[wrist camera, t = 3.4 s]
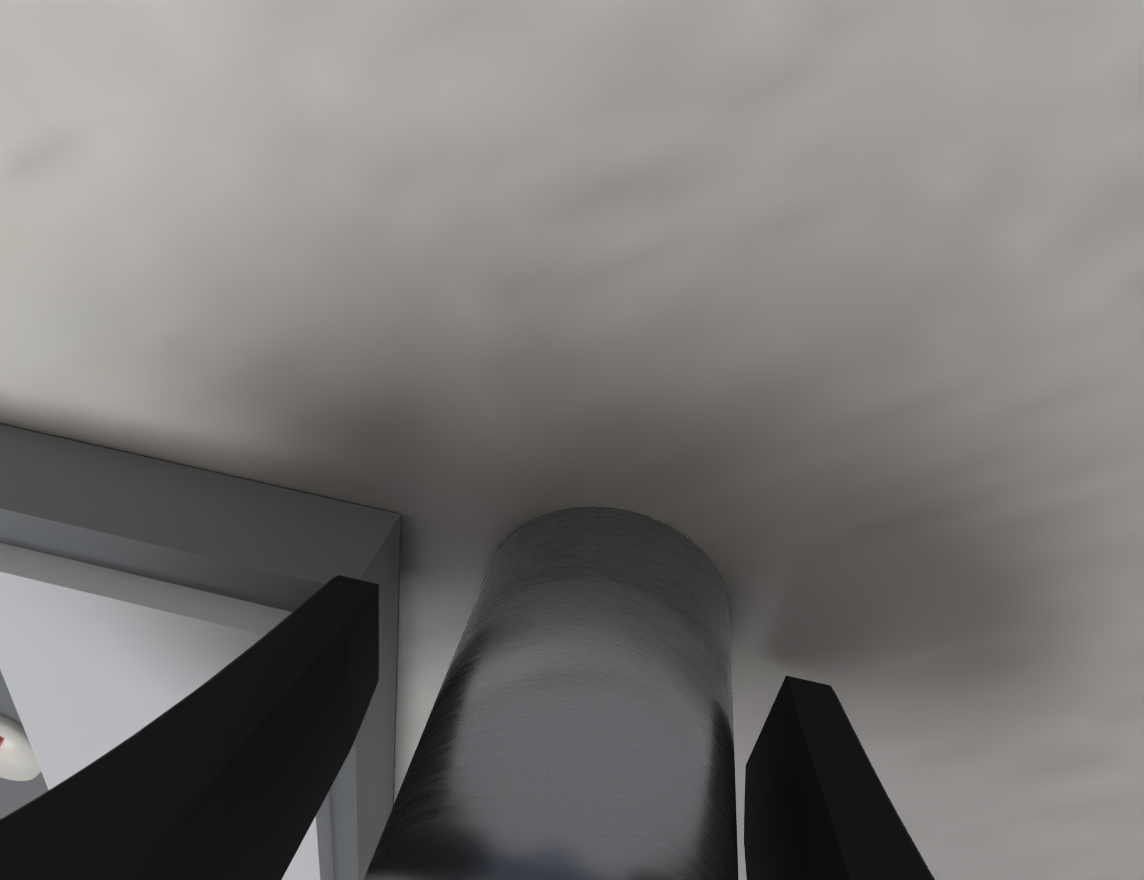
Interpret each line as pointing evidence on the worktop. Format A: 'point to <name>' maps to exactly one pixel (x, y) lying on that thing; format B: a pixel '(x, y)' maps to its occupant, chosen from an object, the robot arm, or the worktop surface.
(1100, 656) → the worktop surface
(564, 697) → the cylinder
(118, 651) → the scale
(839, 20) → the worktop surface
